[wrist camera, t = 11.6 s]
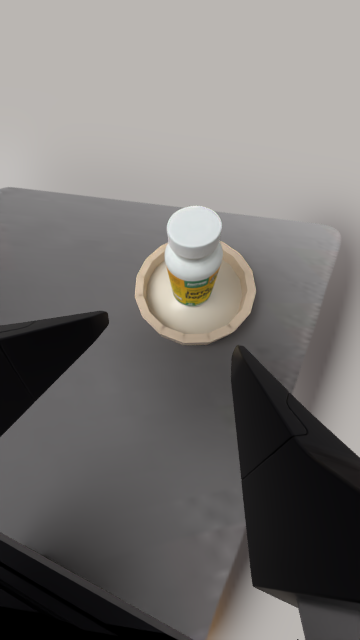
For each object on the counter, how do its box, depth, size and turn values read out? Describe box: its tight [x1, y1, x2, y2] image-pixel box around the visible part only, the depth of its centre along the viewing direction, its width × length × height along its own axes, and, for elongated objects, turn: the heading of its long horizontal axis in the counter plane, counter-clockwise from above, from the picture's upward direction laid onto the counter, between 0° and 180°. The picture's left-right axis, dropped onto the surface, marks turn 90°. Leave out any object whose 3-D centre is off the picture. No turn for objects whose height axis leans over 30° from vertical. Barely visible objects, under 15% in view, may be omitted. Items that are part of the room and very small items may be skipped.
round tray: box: [135, 241, 256, 345], centre depth 19 cm, size 15×15×2 cm
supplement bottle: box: [165, 206, 223, 307], centre depth 15 cm, size 5×5×10 cm
